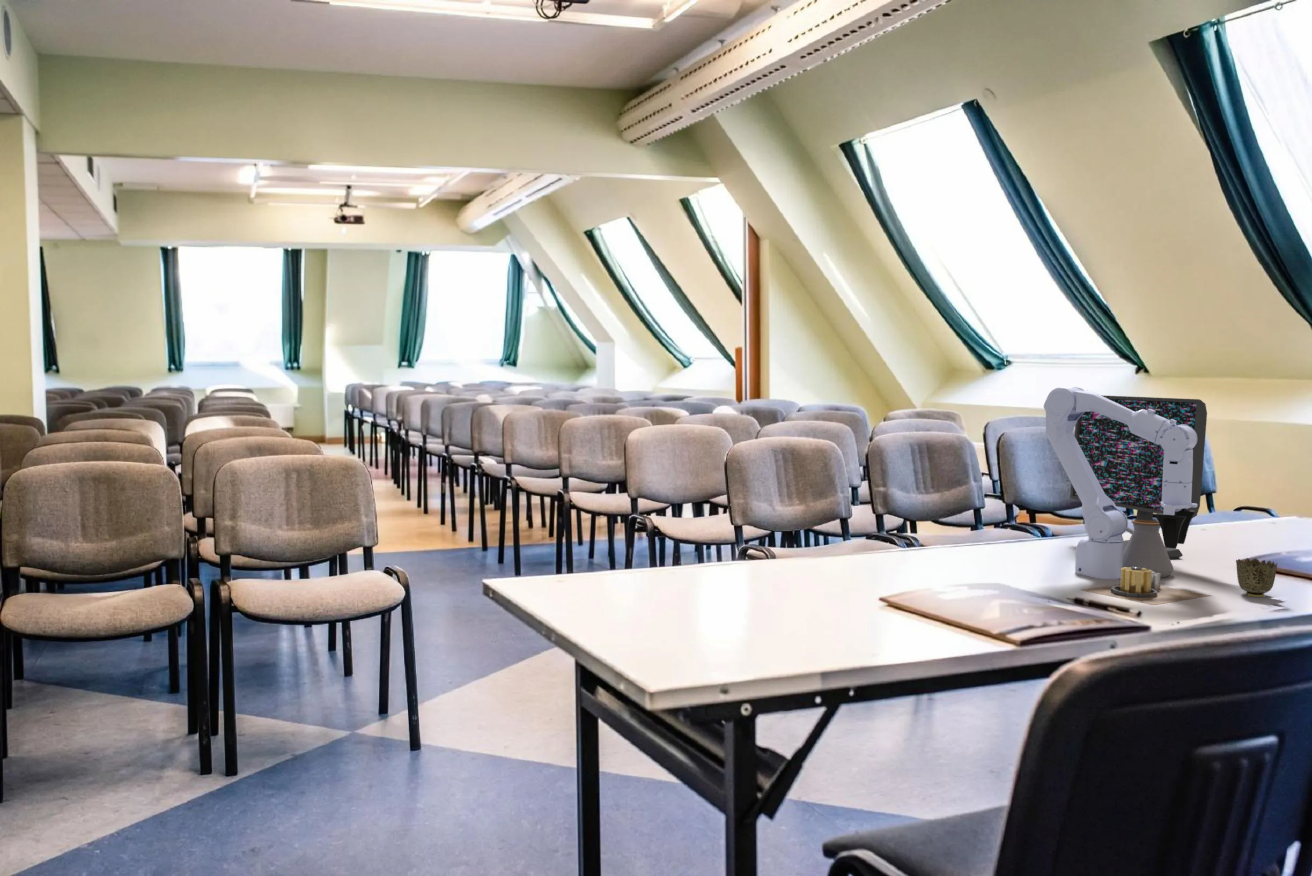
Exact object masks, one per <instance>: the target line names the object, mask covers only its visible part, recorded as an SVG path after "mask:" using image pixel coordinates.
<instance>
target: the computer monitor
mask: <svg viewBox="0 0 1312 876" xmlns="http://www.w3.org/2000/svg"><path fill="white" fill-rule="evenodd" d="M1101 396H1103V397H1105V398H1107V399H1109V400H1111V401H1113V402H1116V403H1118V404H1120V405H1122V406H1124V407H1126V408H1128V409H1130V410H1132V411H1134V412H1136V411H1139V410H1142V409H1145V410H1148V409H1152V410H1155V411H1156V412H1155V414H1156V415H1159V416H1161V417H1163V418H1166V419H1168V420H1170V419H1174V420H1176V426H1177V425H1180V424H1186V425H1188V426H1189V427H1191V428H1192V429H1193V430H1194V431H1195V432H1196V434H1197V443H1196V445H1195V447H1194V448H1193V473H1192V496H1191V503H1195V504H1197V507H1196V508H1194V507H1191V508H1188V509H1186V510H1193V511H1195V515H1194V516H1193V518H1192V519H1194V518H1195V517H1197V516H1198V513H1199V510H1200V508H1201V499H1202V498H1201V497H1202V482H1203V471H1204V460H1205V459H1204V457H1205V446H1206V434H1207V433H1206V431H1207V420H1208V419H1207V418H1208V411H1207V405H1206V403H1205V402H1204V401H1203V400H1201V399H1200V398H1199V399H1198V398H1176V397H1175V398H1174V397H1153V396H1151V397H1149V396H1148V397H1147V396H1127V395H1126V396H1125V395H1124V396H1123V395H1122V396H1121V395H1101ZM1074 436H1075V438H1076V440H1077V442H1078V444H1079V446H1080V448H1081V449H1082V451H1083V453H1084V455H1085V457H1086V459H1087V461H1088V463H1089V465H1090V466H1091V468H1092V470H1093V472H1094V474H1095V476H1096V478H1097V480H1098V482H1099V484H1100V485H1101V487H1102V489H1103V491H1104V493H1105V495H1106V496H1108V497H1109V498H1110V499H1111V500H1112V501H1113V502H1114V503H1115V505H1116V507H1117V508H1122V509H1123V508H1125V509H1129V510H1136V517H1135V518H1136V519H1135V520H1153V521H1154V519H1153V518H1154V517H1153V516H1154V514H1157V513H1163V511H1164V508H1163V507H1162V506H1161V501H1162V481H1163V460H1164V449H1163V448H1162V447H1161V445H1157V444H1155V443H1153V442H1151V441H1148V440H1146V439H1144V438H1142V437H1139V436H1137V435H1135V434H1133V433H1131V431H1130V429H1129V427H1128V425H1127V424H1124V423H1122V422H1119V421H1117V420H1114V419H1112V418H1109V417H1107V416H1104V415H1102V414H1099V413H1097V412H1094V411H1089V412H1084V414H1083V415H1082V416H1081V417H1080V418H1079V419H1078V420H1077V423H1076V425H1075V427H1074ZM1191 450H1192V449H1191ZM1069 494H1070V495H1069V498H1070V499H1073V500H1078V501H1081V500H1080V499H1079V497H1078V495H1077V493H1076V491H1075V489H1074V487H1073V485H1072V483H1071V482H1070V493H1069ZM1128 541H1129V539H1126V540H1123V551H1124V549H1125V547H1126V545H1127V543H1128ZM1166 551H1167V553H1168V556H1169V558H1170V560H1171V559H1172V560H1174V559H1180V558H1182V557H1183V556H1184V554H1183V553H1182V551H1181V550H1180V549H1179V548H1166Z"/></svg>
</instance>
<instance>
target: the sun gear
mask: <svg viewBox="0 0 1312 876" xmlns="http://www.w3.org/2000/svg"><path fill="white" fill-rule="evenodd" d="M1160 575H1161V574H1160V573H1155V572H1154V571H1152V574H1151V589H1154V590H1157V589H1158V588H1160V586H1161V578H1160Z"/></svg>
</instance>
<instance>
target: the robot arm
mask: <svg viewBox="0 0 1312 876" xmlns="http://www.w3.org/2000/svg"><path fill="white" fill-rule="evenodd" d="M1043 409H1044V411H1045V435H1046V436H1047V439H1048V440H1049V442H1050V445H1051V447H1052V449H1053V451H1054V452H1055V454H1056V456H1057V458H1058V460H1059V462H1060V464H1061V465H1062V467H1063V469H1064V472H1065V474H1066V475H1067V478H1068V480H1069V481H1070V484H1071V483H1072V485H1073V487H1074V489H1075V491H1076V493H1077V495H1078V497H1079V499H1080V500H1079V501H1080V502H1081V504H1082V505H1081V510H1080V511H1081V515H1082V518H1083V520H1084V530H1085V532H1086V534H1087V535H1088V537H1083V538H1081V539H1080V540H1079V541H1078V542H1077V544H1076V548H1075V564H1074V565H1075V566H1074V567H1075V569H1074V573H1075V574H1077V575H1083V576H1087V577H1091V578H1094V579H1095V578H1096V579H1103V580H1119V579H1120V577H1121V568H1122V564H1123V541H1124V537H1123V534H1124V533H1125V532H1127V531H1126V529H1127V527H1128V526H1129V519H1128V517H1127V515H1126V514H1125V512H1123V511H1122V510H1120V509H1119V507H1117V506H1116V505H1115V503H1114V502H1113V501H1112V500H1111V499H1110V498H1109V497H1108V496H1106V495H1105V493H1104V491H1103V489H1102V487H1101V485H1100V484H1099V482H1098V480H1097V478H1096V476H1095V474H1094V472H1093V470H1092V468H1091V466H1090V465H1089V463H1088V461H1087V459H1086V457H1085V455H1084V453H1083V451H1082V449H1081V448H1080V446H1079V444H1078V442H1077V440H1076V438H1075V433H1074V431H1075V425H1076V423H1077V420H1078V419H1079V418H1080V417H1081V416H1082V415H1083V414H1084V412H1089V411H1094V412H1097V413H1099V414H1102V415H1104V416H1107V417H1109V418H1112V419H1114V420H1117V421H1119V422H1122V423H1124V424H1127V425H1128V427H1129V429H1130V431H1131V433H1133V434H1135V435H1137V436H1139V437H1142V438H1144V439H1146V440H1148V441H1151V442H1153V443H1155V444H1157V445H1161V447H1162V448H1163V449H1164V460H1163V481H1162V501H1161V506H1162V507H1163V508H1164V511H1163V513H1155V517H1156V521H1158V522H1159V524H1160V529H1161V533H1162V541H1163V543H1164V546H1165V548H1175V549H1177V547H1178V545H1185V542H1186V539H1187V534H1188V530H1189V527H1190V523H1191V522H1192V519H1194V518H1193V516H1194V515H1195V511H1193V510H1186V509H1188V508H1191V507H1194V508H1196V507H1197V504H1195V503H1191V496H1192V473H1193V448H1194V447H1195V445H1196V443H1197V434H1196V432H1195V431H1194V430H1193V429H1192V428H1191V427H1189V426H1188V425H1186V424H1180V425H1177V426H1176V420H1174V419H1170V420H1168V419H1166V418H1163V417H1161V416H1159V415H1156V414H1155V412H1156V411H1155V410H1152V409H1148V410H1145V409H1142V410H1139V411H1136V412H1134V411H1132V410H1130V409H1128V408H1126V407H1124V406H1122V405H1120V404H1118V403H1116V402H1113V401H1111V400H1109V399H1107V398H1105V397H1103V396H1101V395H1100V394H1098V393H1096V392H1093V391H1090V390H1085V389H1083V388H1081V387H1078V386H1074V387H1056V388H1054V389H1052V390H1051V391H1049V393H1048V395H1047V396H1046V399H1045V402H1044V403H1043ZM1191 449H1192V450H1191ZM1128 528H1129V527H1128Z"/></svg>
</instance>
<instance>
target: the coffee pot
mask: <svg viewBox="0 0 1312 876" xmlns="http://www.w3.org/2000/svg"><path fill="white" fill-rule="evenodd" d="M1130 522H1131V524H1132V525H1133V529H1131V528H1130V527H1127V529H1126V531H1125V532H1127V533H1129V534H1130V535H1131V536H1130V537H1129V539H1128V540H1129V541H1128V543H1127V545H1126V547H1125V549H1124V551H1123V564H1122V567H1128V568H1129V567H1141V568H1146V569H1147V570H1152V571H1154V572H1155V573H1160V574H1161V575H1160V579H1161V578H1163V579H1164V578H1167V577H1169V576H1170V575H1171V574H1172V572H1173V570H1174V567H1173V563H1172V560H1171V559H1170V558H1169V556H1168V553H1167V551H1166V548H1165V545H1164V540H1163V537H1162V536H1161V533H1160V529H1161V526H1160V524H1159V522H1158V520H1154V519H1153V520H1136V519H1132V520H1131V521H1130Z"/></svg>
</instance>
